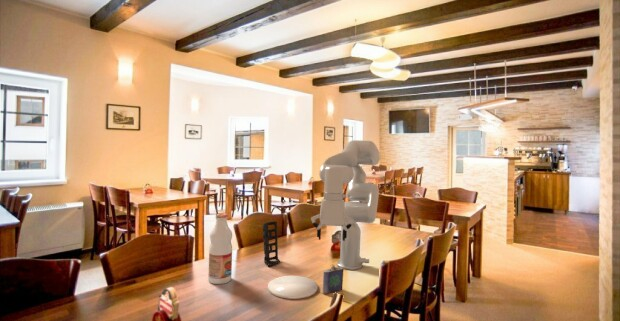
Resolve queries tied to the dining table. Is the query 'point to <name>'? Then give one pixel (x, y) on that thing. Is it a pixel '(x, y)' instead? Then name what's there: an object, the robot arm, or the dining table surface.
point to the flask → (332, 280)
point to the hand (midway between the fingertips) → (331, 239)
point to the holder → (266, 244)
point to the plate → (292, 287)
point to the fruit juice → (220, 251)
